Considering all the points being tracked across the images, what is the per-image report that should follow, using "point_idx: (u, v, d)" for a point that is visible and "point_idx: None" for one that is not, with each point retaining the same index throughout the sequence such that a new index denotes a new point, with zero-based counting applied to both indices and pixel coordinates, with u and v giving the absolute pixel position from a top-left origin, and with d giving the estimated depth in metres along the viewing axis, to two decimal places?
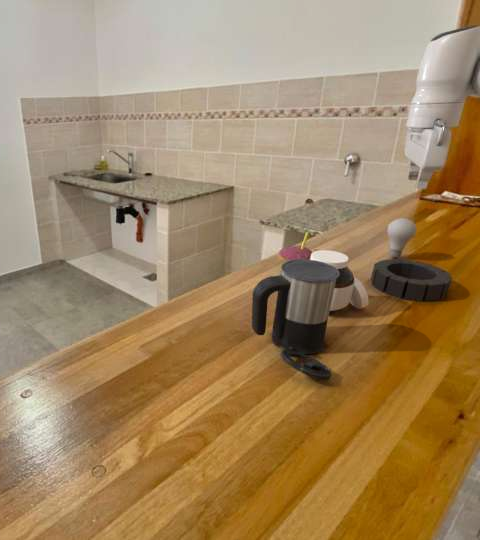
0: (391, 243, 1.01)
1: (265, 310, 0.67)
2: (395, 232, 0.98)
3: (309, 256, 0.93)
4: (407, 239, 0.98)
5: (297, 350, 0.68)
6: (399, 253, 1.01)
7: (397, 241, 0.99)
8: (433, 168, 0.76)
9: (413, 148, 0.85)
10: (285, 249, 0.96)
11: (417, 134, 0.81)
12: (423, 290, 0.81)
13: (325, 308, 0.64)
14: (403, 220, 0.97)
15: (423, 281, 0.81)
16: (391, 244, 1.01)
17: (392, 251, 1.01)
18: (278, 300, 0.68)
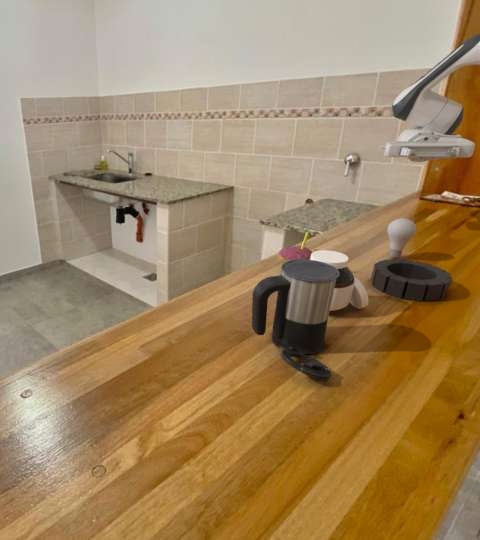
0: (391, 243, 1.01)
1: (265, 310, 0.67)
2: (395, 232, 0.98)
3: (309, 256, 0.93)
4: (407, 239, 0.98)
5: (297, 350, 0.68)
6: (399, 253, 1.01)
7: (397, 241, 0.99)
8: (387, 150, 1.11)
9: None
10: (285, 249, 0.96)
11: None
12: (423, 290, 0.81)
13: (325, 308, 0.64)
14: (403, 220, 0.97)
15: (423, 281, 0.81)
16: (391, 244, 1.01)
17: (392, 251, 1.01)
18: (278, 300, 0.68)
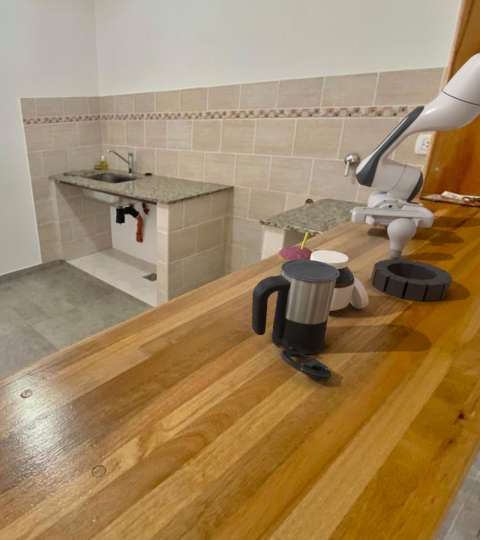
0: (391, 243, 1.01)
1: (265, 310, 0.67)
2: (395, 232, 0.98)
3: (309, 256, 0.93)
4: (407, 239, 0.98)
5: (297, 350, 0.68)
6: (399, 253, 1.01)
7: (397, 241, 0.99)
8: (353, 216, 1.16)
9: None
10: (285, 249, 0.96)
11: None
12: (423, 290, 0.81)
13: (325, 308, 0.64)
14: (403, 220, 0.97)
15: (423, 281, 0.81)
16: (391, 244, 1.01)
17: (392, 251, 1.01)
18: (278, 300, 0.68)
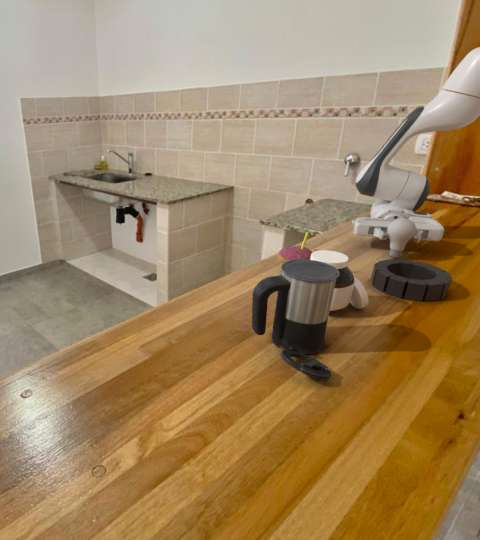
0: (391, 243, 1.01)
1: (265, 310, 0.67)
2: (395, 232, 0.98)
3: (309, 256, 0.93)
4: (407, 239, 0.98)
5: (297, 350, 0.68)
6: (399, 253, 1.01)
7: (397, 241, 0.99)
8: (355, 228, 1.07)
9: None
10: (285, 249, 0.96)
11: None
12: (423, 290, 0.81)
13: (325, 308, 0.64)
14: (403, 220, 0.97)
15: (423, 281, 0.81)
16: (391, 244, 1.01)
17: (392, 251, 1.01)
18: (278, 300, 0.68)
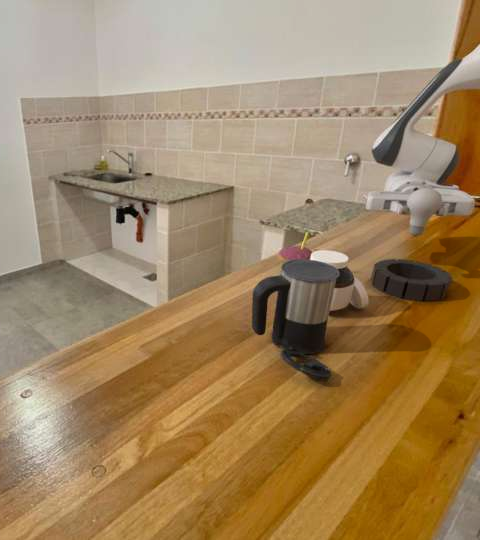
0: (411, 218, 0.85)
1: (265, 310, 0.67)
2: (416, 204, 0.82)
3: (309, 256, 0.93)
4: (431, 212, 0.82)
5: (297, 350, 0.68)
6: (421, 230, 0.85)
7: (419, 215, 0.83)
8: (368, 203, 0.92)
9: None
10: (285, 249, 0.96)
11: None
12: (423, 290, 0.81)
13: (325, 308, 0.64)
14: (426, 190, 0.82)
15: (423, 281, 0.81)
16: (411, 219, 0.85)
17: (412, 228, 0.86)
18: (278, 300, 0.68)
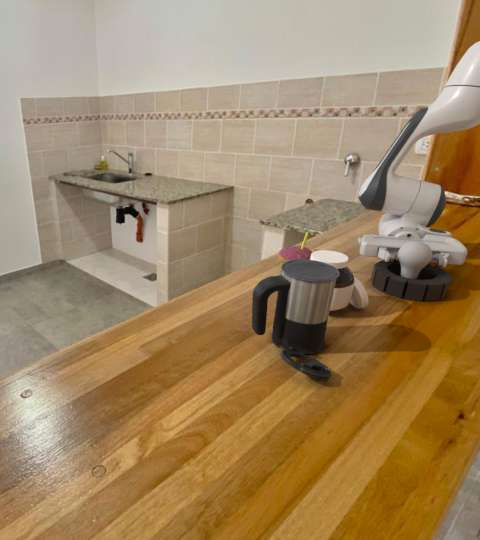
0: (402, 270, 0.86)
1: (265, 310, 0.67)
2: (407, 258, 0.83)
3: (309, 256, 0.93)
4: (422, 266, 0.83)
5: (297, 350, 0.68)
6: None
7: (410, 268, 0.84)
8: (362, 248, 0.92)
9: None
10: (285, 249, 0.96)
11: None
12: (423, 290, 0.81)
13: (325, 308, 0.64)
14: (417, 244, 0.83)
15: (423, 281, 0.81)
16: (402, 271, 0.86)
17: None
18: (278, 300, 0.68)
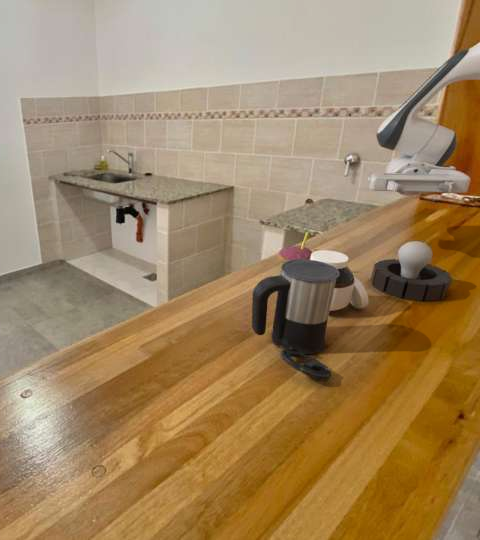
0: (402, 270, 0.86)
1: (265, 310, 0.67)
2: (407, 258, 0.83)
3: (309, 256, 0.93)
4: (422, 266, 0.83)
5: (297, 350, 0.68)
6: None
7: (410, 268, 0.84)
8: (372, 183, 0.99)
9: None
10: (285, 249, 0.96)
11: None
12: (423, 290, 0.81)
13: (325, 308, 0.64)
14: (417, 244, 0.83)
15: (423, 281, 0.81)
16: (402, 271, 0.86)
17: None
18: (278, 300, 0.68)
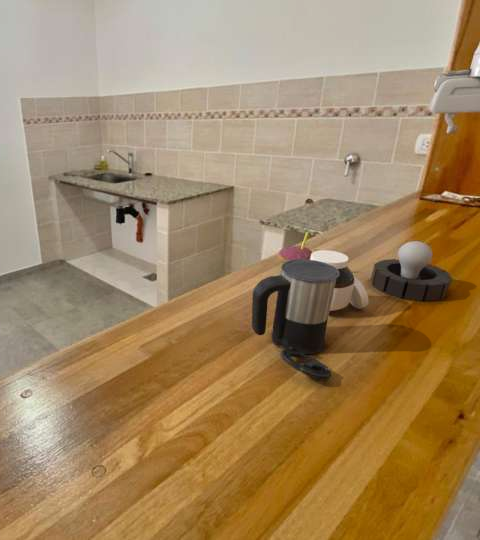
0: (402, 270, 0.86)
1: (265, 310, 0.67)
2: (407, 258, 0.83)
3: (309, 256, 0.93)
4: (422, 266, 0.83)
5: (297, 350, 0.68)
6: None
7: (410, 268, 0.84)
8: (431, 111, 0.93)
9: None
10: (285, 249, 0.96)
11: None
12: (423, 290, 0.81)
13: (325, 308, 0.64)
14: (417, 244, 0.83)
15: (423, 281, 0.81)
16: (402, 271, 0.86)
17: None
18: (278, 300, 0.68)
